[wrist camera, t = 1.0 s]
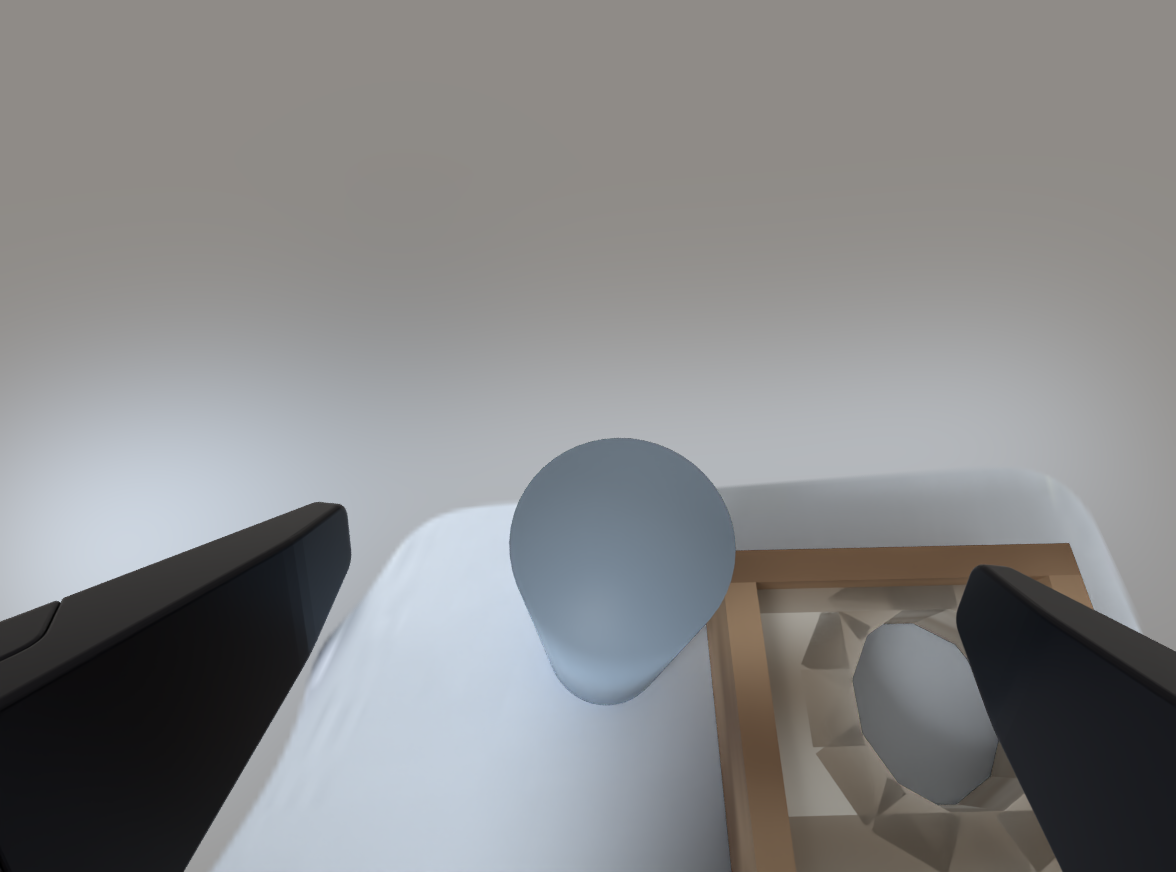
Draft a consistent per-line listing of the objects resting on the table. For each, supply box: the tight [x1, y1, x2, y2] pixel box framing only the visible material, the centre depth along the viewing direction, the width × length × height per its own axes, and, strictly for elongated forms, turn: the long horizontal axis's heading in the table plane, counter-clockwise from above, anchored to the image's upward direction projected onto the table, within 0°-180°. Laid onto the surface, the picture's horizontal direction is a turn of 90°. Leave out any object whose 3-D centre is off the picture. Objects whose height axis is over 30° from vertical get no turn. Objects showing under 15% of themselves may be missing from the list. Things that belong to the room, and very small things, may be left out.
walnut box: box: [706, 543, 1094, 872], centre depth 19 cm, size 11×11×4 cm
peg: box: [509, 438, 736, 705], centre depth 17 cm, size 4×4×12 cm
